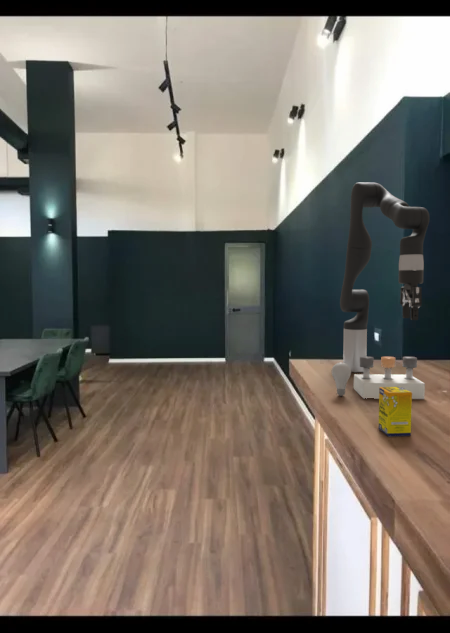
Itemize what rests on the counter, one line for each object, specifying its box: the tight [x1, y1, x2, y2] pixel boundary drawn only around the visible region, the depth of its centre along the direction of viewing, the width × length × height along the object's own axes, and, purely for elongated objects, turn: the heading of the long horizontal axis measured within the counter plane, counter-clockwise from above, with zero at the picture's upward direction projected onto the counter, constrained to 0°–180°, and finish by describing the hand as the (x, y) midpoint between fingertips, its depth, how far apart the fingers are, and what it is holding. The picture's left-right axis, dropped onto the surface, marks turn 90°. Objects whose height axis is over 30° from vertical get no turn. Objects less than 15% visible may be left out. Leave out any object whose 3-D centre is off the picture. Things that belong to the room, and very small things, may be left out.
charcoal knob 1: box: [360, 355, 375, 379], centre depth 161 cm, size 4×4×8 cm
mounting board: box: [353, 373, 426, 400], centre depth 161 cm, size 14×19×5 cm
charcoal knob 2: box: [402, 356, 418, 380], centre depth 161 cm, size 4×4×8 cm
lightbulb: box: [331, 361, 352, 397], centre depth 158 cm, size 6×6×11 cm
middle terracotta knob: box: [380, 356, 396, 380], centre depth 161 cm, size 4×4×8 cm
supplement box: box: [378, 387, 413, 438], centre depth 121 cm, size 6×6×11 cm
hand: (410, 319), depth 160 cm, fingers open, 8 cm apart
